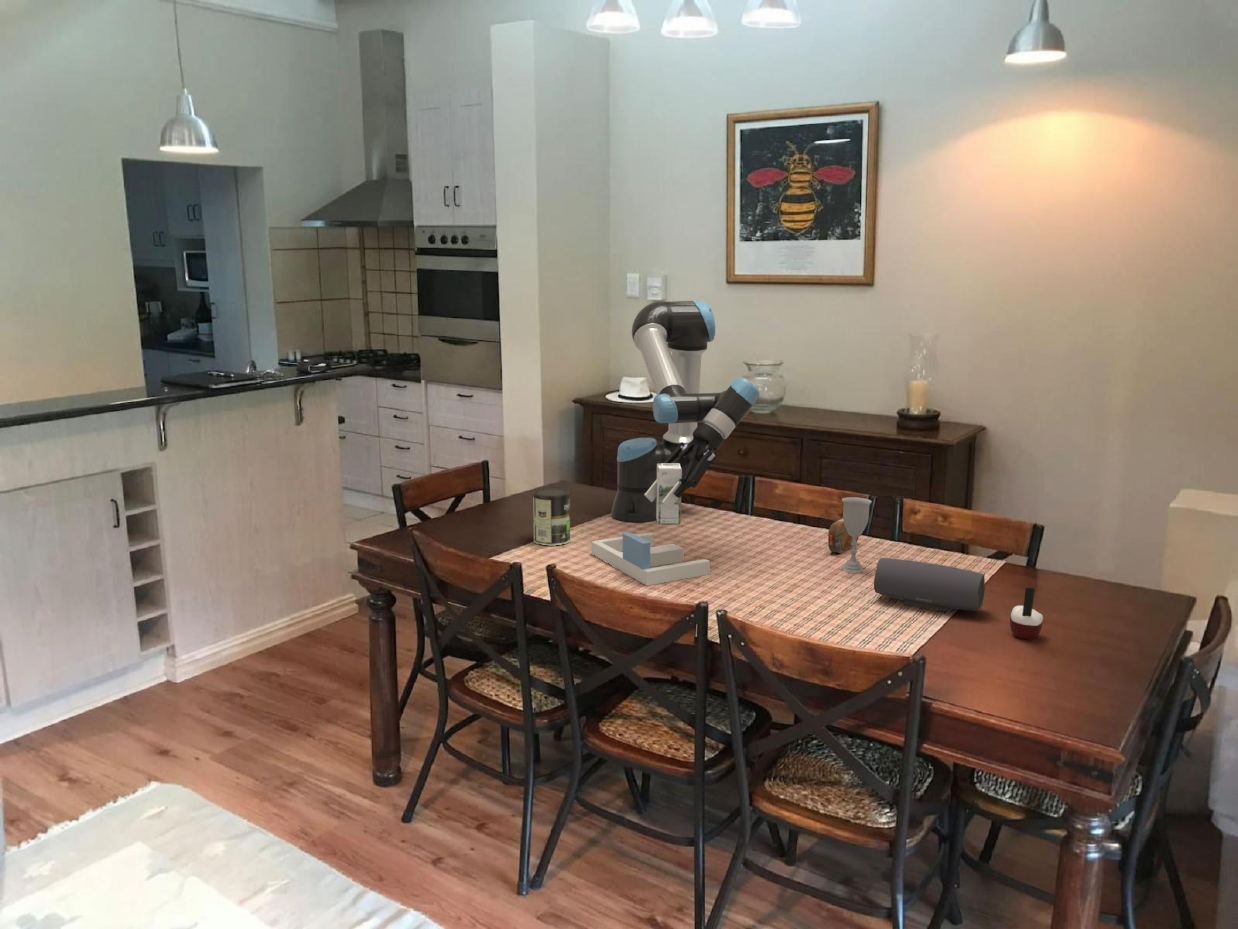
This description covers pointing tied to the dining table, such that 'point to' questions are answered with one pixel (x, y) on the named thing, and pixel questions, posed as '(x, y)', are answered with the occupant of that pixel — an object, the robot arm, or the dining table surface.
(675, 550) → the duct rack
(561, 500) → the coffee can
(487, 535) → the dining table surface
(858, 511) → the chalice
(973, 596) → the bluetooth speaker
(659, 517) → the syrup box
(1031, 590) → the cocoa
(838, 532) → the brown stone slab
